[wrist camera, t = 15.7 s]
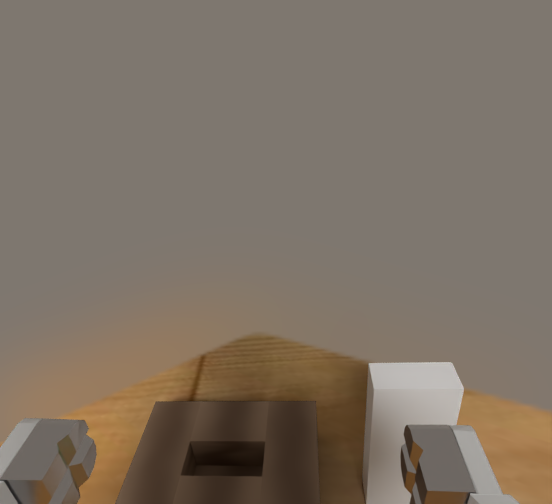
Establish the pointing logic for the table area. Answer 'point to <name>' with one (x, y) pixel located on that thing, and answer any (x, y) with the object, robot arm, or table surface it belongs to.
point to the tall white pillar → (402, 419)
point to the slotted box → (226, 454)
